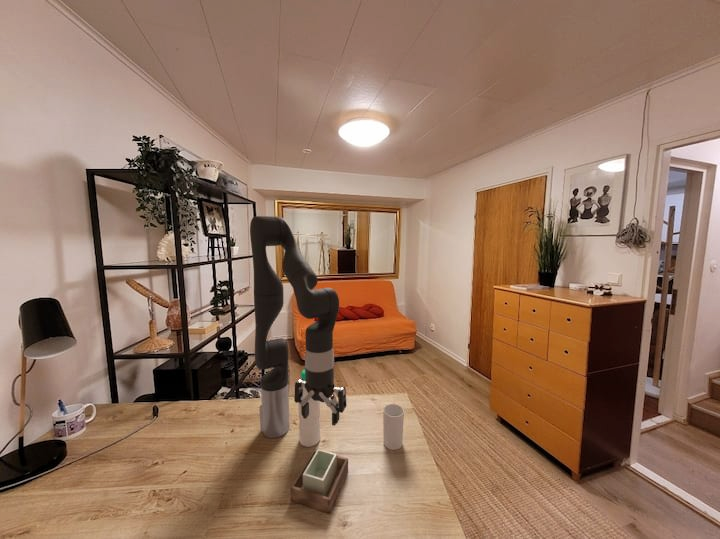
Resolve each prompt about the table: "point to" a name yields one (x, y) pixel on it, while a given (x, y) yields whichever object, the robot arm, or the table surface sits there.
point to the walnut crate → (318, 500)
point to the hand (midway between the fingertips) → (320, 420)
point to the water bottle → (309, 421)
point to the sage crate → (320, 472)
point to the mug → (393, 426)
